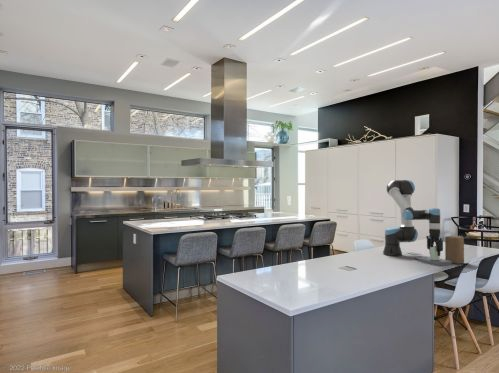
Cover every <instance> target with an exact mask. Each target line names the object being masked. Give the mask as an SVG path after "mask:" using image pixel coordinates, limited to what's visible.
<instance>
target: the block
mask: <svg viewBox="0 0 499 373" xmlns="http://www.w3.org/2000/svg"><path fill="white" fill-rule="evenodd" d="M444 240H445V241H444V244H445V248H444V249H445V251H444V252H445V253H444V254H445V259H444V260H448V261H452V264H455V265H460V264H463V263H465V252H464V251H465V238H464V237H463V236H460V235H459V236H458V235H448V236H445V238H444Z"/></svg>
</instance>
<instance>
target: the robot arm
mask: <svg viewBox="0 0 499 373" xmlns="http://www.w3.org/2000/svg"><path fill="white" fill-rule="evenodd" d="M415 188H416V187H415V184H414V182H413V181H412V180H408V179H403V180H402V179H400V180H398V179H394V180H393V179H392V180H391V181H389V182H388V183H387V185H386V192H387V194H388V196H390V197H392V199H393V200H394V202H395V203H396V205H397V206H398V207H399V208H400V220H401V221H400V224H401V225H399V227H398V226H391V227H390V226H389V227H386V228H385V229H384V230H385V231H384V238H385V239H384V243H385V244H384V248H383V251H382V254H383V255H385V256H391V257H399V256H400V257H401V256H403V252H402V248H401V243H414V242H416V240H417V239H418V237H419V236H418V235H419V233H418V230H417V229H416V228H415V226H414V225H413V221H419V220H420V221H421V220H422V221H424V220H426V221H428V227H429V229H428V233H429V235H426V236H425V237H426V249H427V250H429V251H430V247H433V246H436V248H437V251H436V260H440V259H441V258H440V257H441V252H443V251H444V240H445V238H444V237H441V209H440V208H437V207H436V208H435V207H434V208H433V207H431V208H429V209H422V210H420V209H418V210H417V209H416V210H415V209H414V208H412V201H411V197H412V196H413V193H415V190H416V189H415Z"/></svg>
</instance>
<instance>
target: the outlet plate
mask: <svg viewBox="0 0 499 373" xmlns="http://www.w3.org/2000/svg"><path fill="white" fill-rule="evenodd" d="M424 257H425V258H418V257H417V258H418V260H417V262H421V263H424V264H429V265H433V266H437V267H442V266H450V265H453V263H452V261H448V260H445V259H444V258H440V260H436V261H435V260H431V259H430V256H424Z"/></svg>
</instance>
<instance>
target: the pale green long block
mask: <svg viewBox="0 0 499 373" xmlns="http://www.w3.org/2000/svg"><path fill="white" fill-rule="evenodd" d="M436 251H437V248H436V245H433V247H430V250H429V257H430V259H431V260H435V261H436Z"/></svg>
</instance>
